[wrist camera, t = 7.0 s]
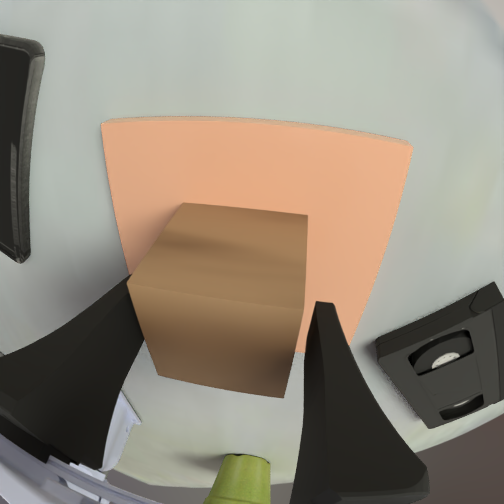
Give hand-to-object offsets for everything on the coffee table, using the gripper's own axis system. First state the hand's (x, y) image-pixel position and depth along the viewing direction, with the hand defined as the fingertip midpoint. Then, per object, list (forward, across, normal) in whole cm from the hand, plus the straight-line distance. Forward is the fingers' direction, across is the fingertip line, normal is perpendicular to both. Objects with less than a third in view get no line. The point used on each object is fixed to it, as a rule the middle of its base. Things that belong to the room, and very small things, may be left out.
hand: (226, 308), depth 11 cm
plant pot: (+4, -1, +34) cm, 34 cm away
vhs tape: (+4, -15, +8) cm, 18 cm away
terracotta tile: (+4, 0, 0) cm, 4 cm away
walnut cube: (+3, 0, 0) cm, 3 cm away
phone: (+4, +16, -5) cm, 17 cm away
